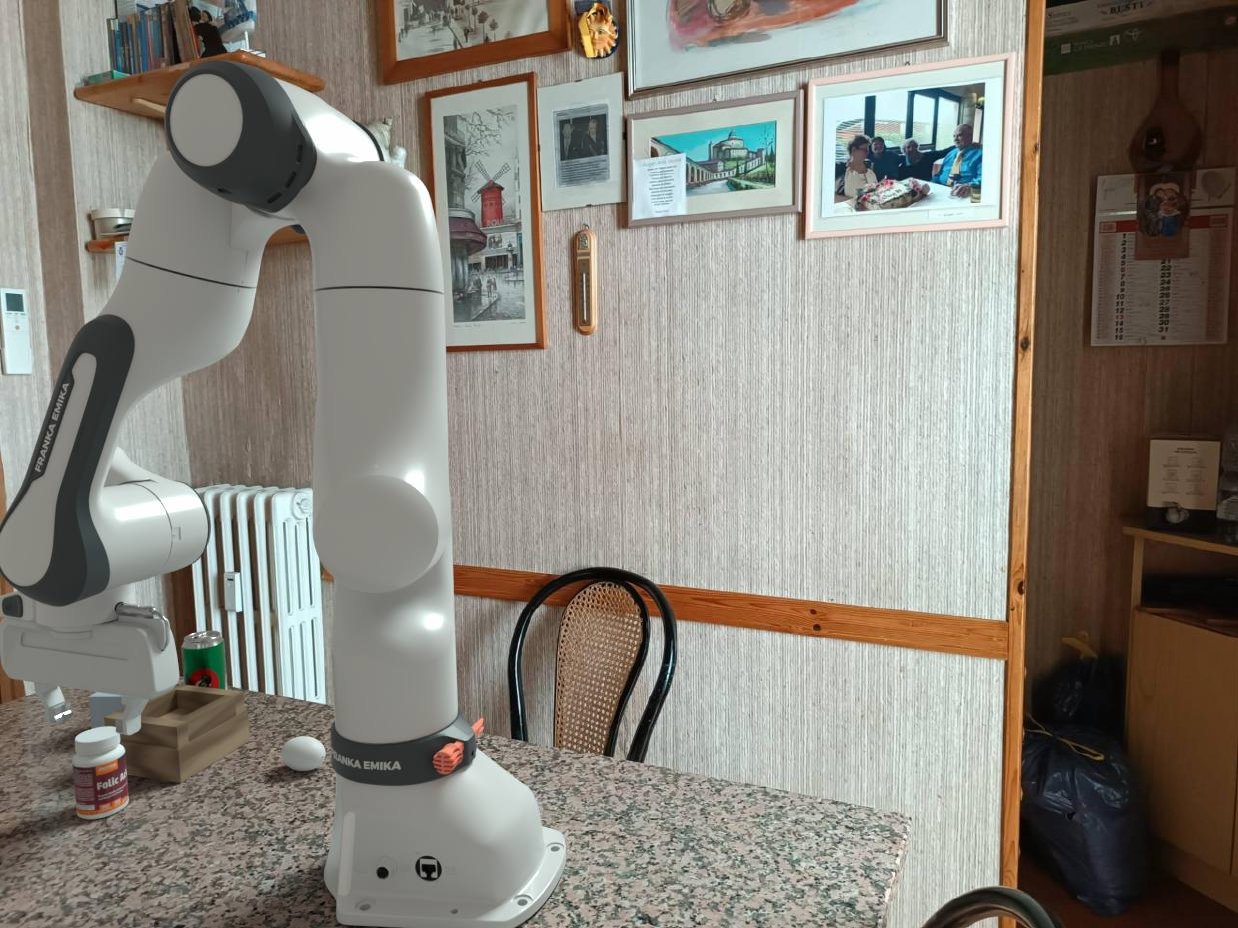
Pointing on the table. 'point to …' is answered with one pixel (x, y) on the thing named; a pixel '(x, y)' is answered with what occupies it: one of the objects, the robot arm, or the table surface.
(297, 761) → the egg
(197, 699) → the wooden open box
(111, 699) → the slate block
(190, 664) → the soda can
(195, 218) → the robot arm
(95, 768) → the pill bottle
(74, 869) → the table surface
